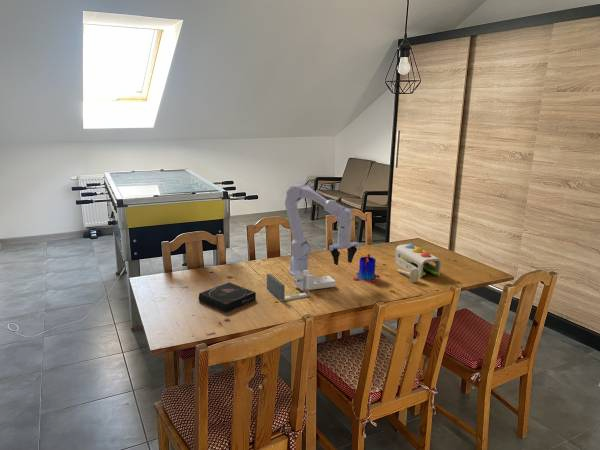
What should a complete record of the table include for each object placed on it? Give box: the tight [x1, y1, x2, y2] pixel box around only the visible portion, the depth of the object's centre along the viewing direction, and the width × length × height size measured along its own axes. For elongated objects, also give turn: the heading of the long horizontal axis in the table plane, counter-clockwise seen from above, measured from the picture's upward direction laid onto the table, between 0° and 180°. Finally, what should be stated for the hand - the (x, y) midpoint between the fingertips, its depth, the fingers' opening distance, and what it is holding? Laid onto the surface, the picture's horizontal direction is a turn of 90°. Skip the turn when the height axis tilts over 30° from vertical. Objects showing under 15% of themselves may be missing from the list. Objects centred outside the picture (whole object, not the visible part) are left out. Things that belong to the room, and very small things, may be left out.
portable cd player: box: [198, 282, 257, 314], centre depth 192 cm, size 16×17×4 cm
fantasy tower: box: [352, 253, 381, 284], centre depth 220 cm, size 12×12×12 cm
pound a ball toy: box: [394, 243, 442, 284], centre depth 230 cm, size 28×18×12 cm, turn 19°
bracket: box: [303, 269, 337, 291], centre depth 208 cm, size 13×7×8 cm, turn 111°
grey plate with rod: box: [266, 273, 309, 302], centre depth 201 cm, size 15×13×7 cm
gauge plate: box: [293, 269, 309, 294], centre depth 202 cm, size 12×3×7 cm, turn 28°
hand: (342, 263), depth 212 cm, fingers open, 7 cm apart
